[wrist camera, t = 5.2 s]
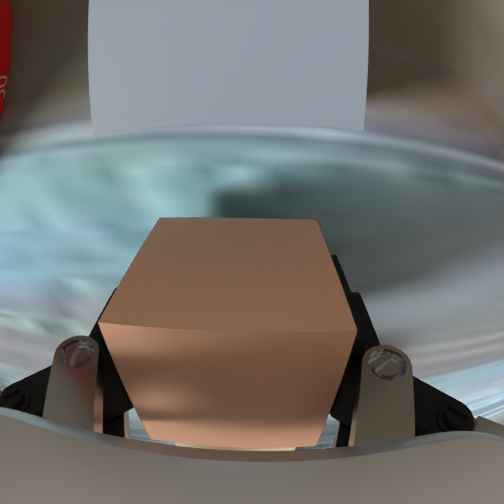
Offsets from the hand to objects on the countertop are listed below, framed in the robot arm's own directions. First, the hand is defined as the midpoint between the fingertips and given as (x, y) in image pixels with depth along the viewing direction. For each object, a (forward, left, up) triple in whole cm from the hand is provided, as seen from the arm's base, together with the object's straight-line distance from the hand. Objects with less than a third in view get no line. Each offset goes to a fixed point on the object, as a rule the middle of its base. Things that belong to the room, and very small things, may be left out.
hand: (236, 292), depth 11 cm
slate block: (+5, -7, -2) cm, 9 cm away
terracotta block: (0, 0, -1) cm, 1 cm away
